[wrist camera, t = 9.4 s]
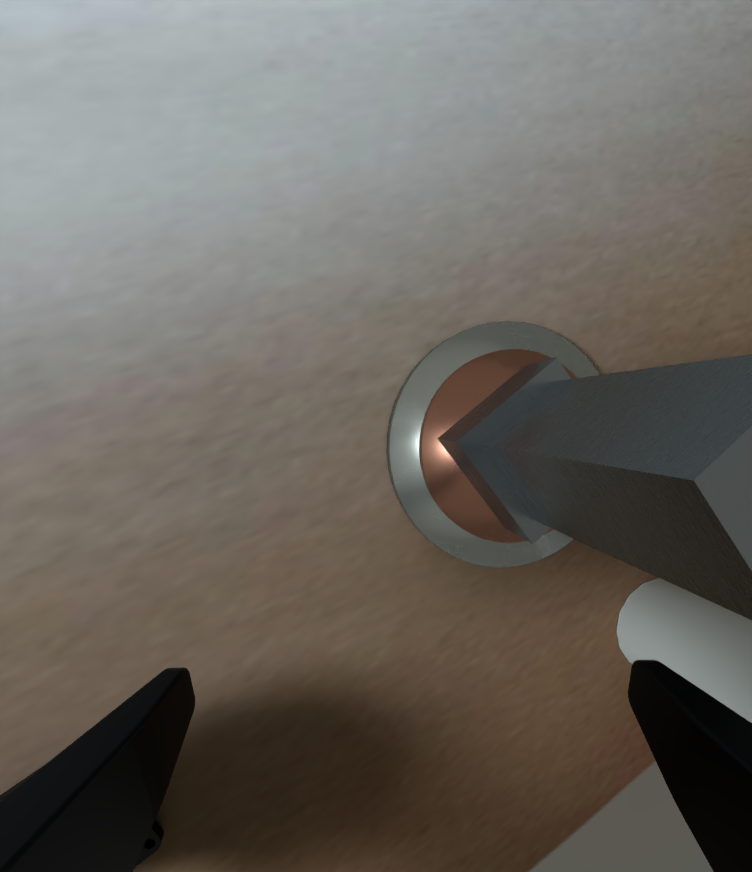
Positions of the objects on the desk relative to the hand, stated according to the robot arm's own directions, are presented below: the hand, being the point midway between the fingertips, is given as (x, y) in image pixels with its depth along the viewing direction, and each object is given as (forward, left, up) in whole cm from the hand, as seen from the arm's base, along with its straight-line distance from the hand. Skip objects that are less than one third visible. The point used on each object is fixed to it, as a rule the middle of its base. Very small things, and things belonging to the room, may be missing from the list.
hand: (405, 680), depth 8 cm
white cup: (+12, -16, -12) cm, 24 cm away
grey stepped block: (+9, -1, -11) cm, 14 cm away
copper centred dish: (+9, -1, -12) cm, 15 cm away
